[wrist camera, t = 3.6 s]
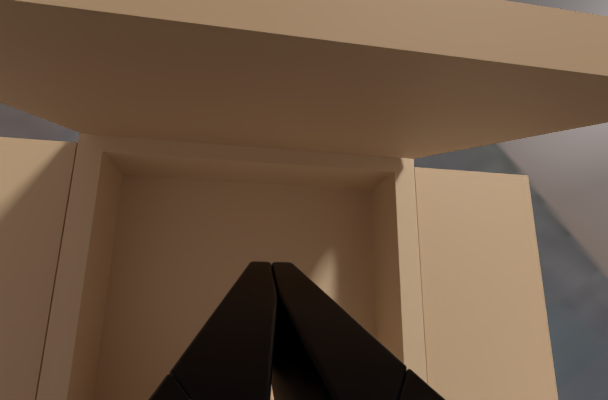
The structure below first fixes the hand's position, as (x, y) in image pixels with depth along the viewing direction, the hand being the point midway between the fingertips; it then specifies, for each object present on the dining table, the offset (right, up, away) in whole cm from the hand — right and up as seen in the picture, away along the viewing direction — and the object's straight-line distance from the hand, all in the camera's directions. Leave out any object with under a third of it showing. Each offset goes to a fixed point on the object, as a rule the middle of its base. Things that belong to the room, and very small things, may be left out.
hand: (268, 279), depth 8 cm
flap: (-1, +4, +6) cm, 7 cm away
